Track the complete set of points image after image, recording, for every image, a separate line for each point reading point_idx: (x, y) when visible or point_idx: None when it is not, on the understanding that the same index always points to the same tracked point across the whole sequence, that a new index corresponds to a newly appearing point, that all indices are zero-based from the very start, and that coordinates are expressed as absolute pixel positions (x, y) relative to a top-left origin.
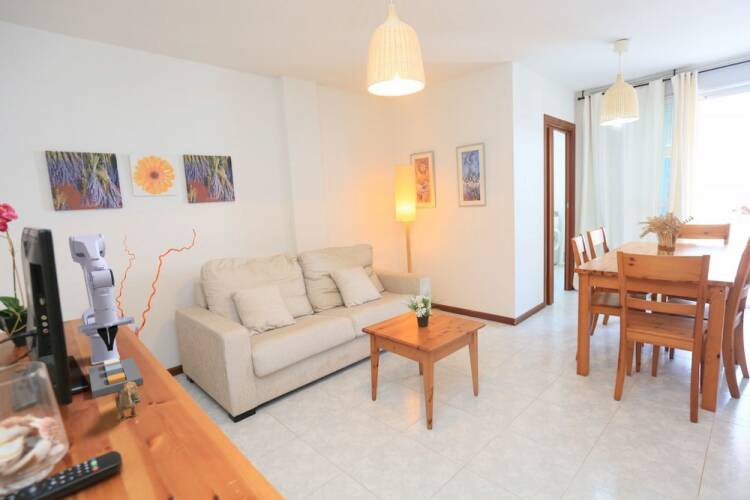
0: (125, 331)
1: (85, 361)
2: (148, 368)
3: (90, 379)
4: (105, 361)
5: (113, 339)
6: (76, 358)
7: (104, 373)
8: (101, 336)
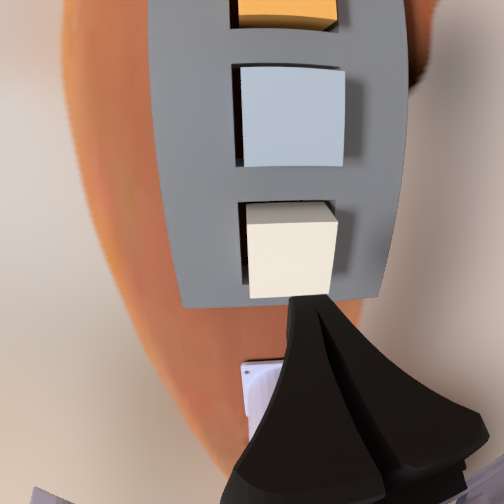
0: (224, 472)
1: None
2: (114, 157)
3: (406, 113)
4: (322, 279)
5: (293, 372)
6: None
7: None
8: (444, 401)
